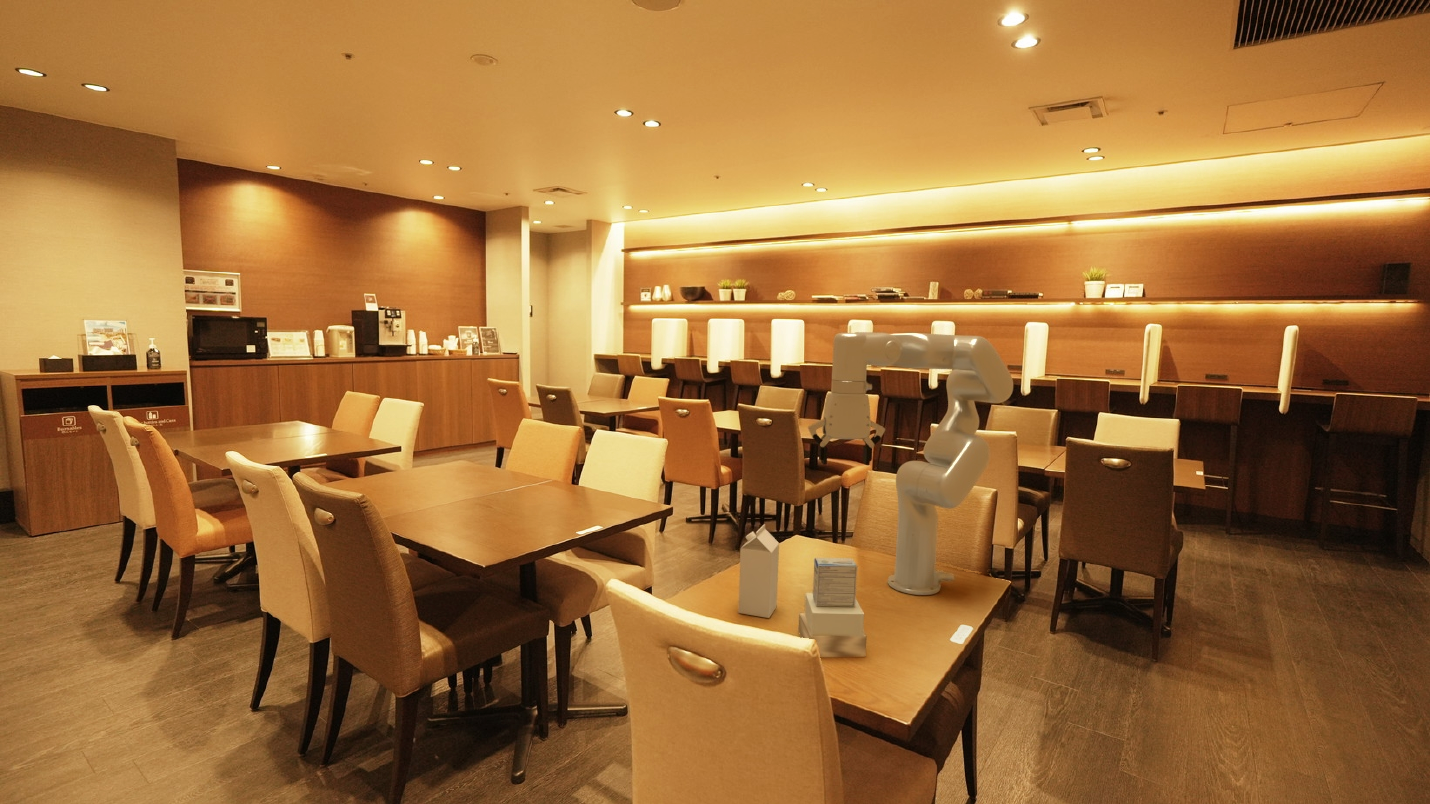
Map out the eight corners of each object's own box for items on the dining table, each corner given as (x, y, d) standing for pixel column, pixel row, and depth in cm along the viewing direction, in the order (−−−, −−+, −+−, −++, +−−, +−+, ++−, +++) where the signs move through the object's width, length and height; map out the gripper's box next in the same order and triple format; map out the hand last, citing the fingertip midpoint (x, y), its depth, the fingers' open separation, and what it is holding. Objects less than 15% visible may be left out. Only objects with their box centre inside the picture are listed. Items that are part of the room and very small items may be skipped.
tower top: (852, 614, 140) (853, 593, 139) (863, 636, 130) (864, 614, 129) (804, 613, 140) (805, 592, 139) (811, 635, 130) (812, 613, 129)
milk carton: (776, 606, 153) (780, 525, 151) (769, 619, 146) (772, 534, 144) (747, 601, 155) (749, 522, 153) (738, 613, 148) (740, 530, 146)
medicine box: (850, 598, 137) (852, 557, 136) (855, 607, 132) (857, 565, 131) (812, 598, 136) (814, 556, 136) (816, 607, 132) (817, 564, 131)
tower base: (849, 632, 141) (850, 612, 141) (865, 658, 130) (866, 636, 130) (798, 633, 140) (799, 612, 140) (810, 659, 130) (811, 636, 129)
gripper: (881, 387, 153) (877, 461, 155) (806, 386, 152) (803, 460, 154) (891, 390, 146) (887, 467, 148) (813, 389, 145) (810, 466, 147)
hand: (844, 463), depth 151 cm, fingers open, 9 cm apart
